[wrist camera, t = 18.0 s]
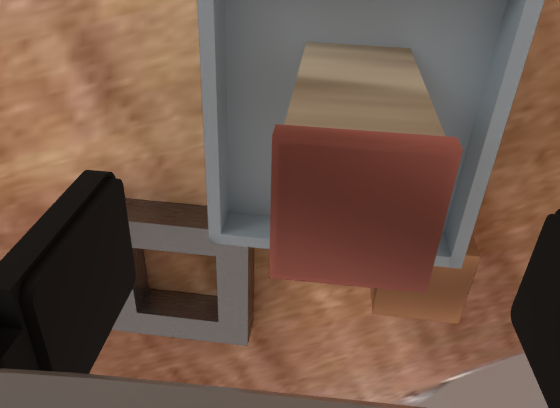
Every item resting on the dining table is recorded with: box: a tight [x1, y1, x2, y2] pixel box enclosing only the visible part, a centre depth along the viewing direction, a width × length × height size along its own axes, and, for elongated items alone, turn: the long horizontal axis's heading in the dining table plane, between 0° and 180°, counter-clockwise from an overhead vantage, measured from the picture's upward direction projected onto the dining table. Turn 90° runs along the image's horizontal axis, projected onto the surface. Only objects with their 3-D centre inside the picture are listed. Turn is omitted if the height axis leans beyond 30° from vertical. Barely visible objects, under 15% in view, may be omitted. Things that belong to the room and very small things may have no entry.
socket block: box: [113, 198, 254, 346], centre depth 27 cm, size 8×8×2 cm
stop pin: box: [269, 42, 463, 293], centre depth 14 cm, size 4×4×8 cm
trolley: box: [197, 0, 544, 269], centre depth 19 cm, size 12×10×6 cm
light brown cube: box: [371, 234, 481, 323], centre depth 24 cm, size 4×4×4 cm
